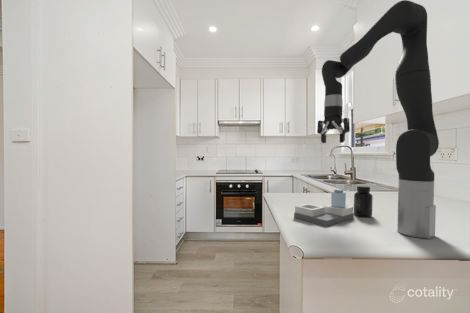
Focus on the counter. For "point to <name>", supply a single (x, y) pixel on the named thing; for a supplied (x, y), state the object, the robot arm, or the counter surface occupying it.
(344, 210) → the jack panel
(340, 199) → the plug
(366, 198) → the supplement bottle
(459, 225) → the counter surface
